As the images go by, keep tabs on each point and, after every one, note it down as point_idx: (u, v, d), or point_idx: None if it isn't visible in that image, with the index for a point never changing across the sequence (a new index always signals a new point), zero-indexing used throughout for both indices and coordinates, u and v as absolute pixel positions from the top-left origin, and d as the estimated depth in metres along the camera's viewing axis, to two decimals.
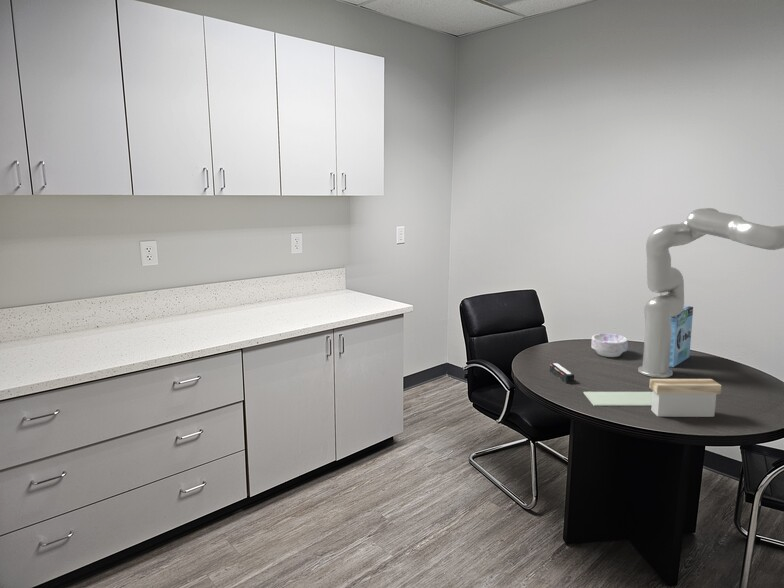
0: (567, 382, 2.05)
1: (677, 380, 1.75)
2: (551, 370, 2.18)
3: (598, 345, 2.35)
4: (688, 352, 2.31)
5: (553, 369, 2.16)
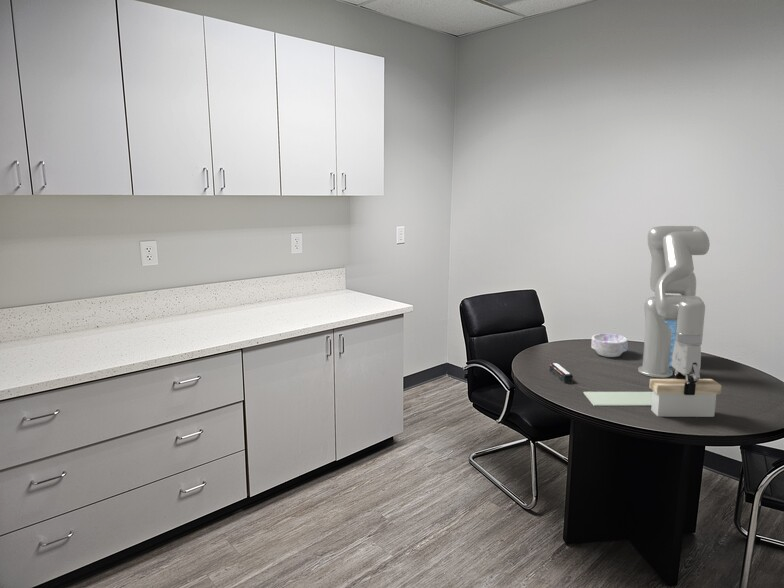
0: (565, 382, 2.05)
1: (677, 380, 1.75)
2: (551, 370, 2.18)
3: (598, 345, 2.35)
4: None
5: (552, 369, 2.16)
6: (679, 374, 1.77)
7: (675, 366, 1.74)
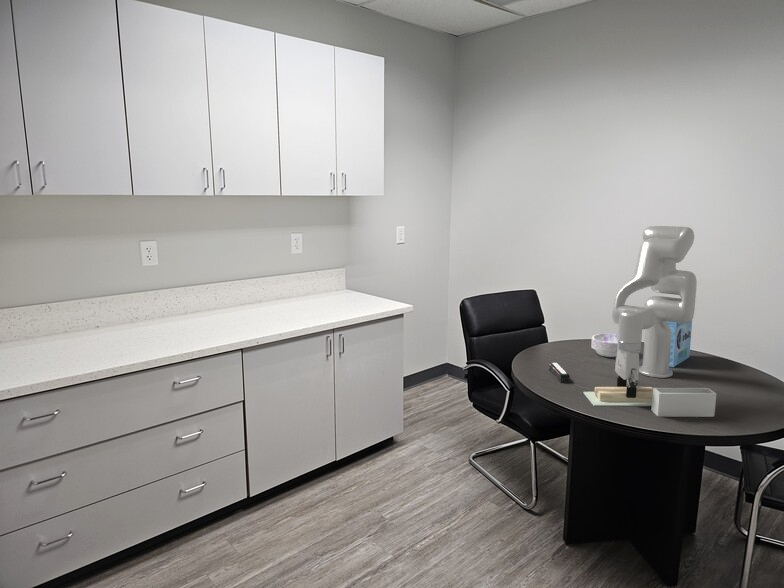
0: (562, 381, 2.06)
1: (619, 388, 1.89)
2: (550, 369, 2.19)
3: (598, 345, 2.35)
4: (688, 352, 2.31)
5: (551, 368, 2.17)
6: (621, 376, 1.92)
7: (617, 371, 1.88)
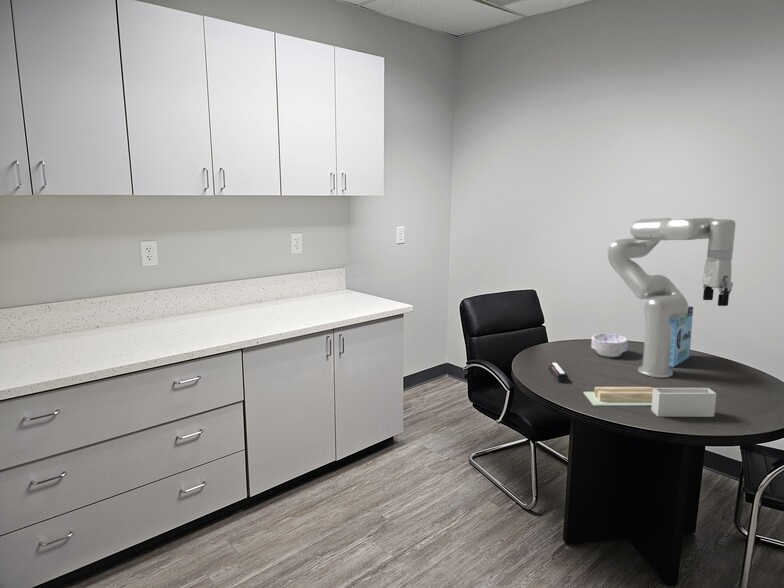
0: (559, 381, 2.06)
1: (619, 388, 1.89)
2: (550, 369, 2.19)
3: (598, 345, 2.35)
4: (688, 352, 2.31)
5: (551, 368, 2.17)
6: (707, 288, 1.92)
7: (706, 282, 1.88)
